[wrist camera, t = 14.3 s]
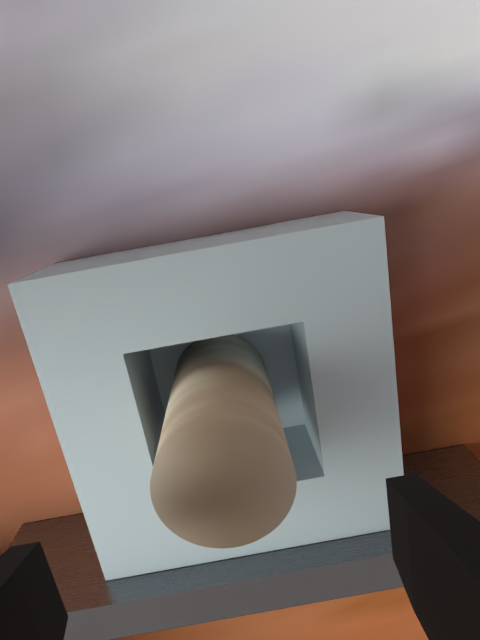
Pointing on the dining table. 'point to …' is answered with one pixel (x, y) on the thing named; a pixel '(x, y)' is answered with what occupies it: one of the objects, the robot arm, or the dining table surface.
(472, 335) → the dining table surface
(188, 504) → the tan wooden peg
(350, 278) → the socket block
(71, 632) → the backstop wall
